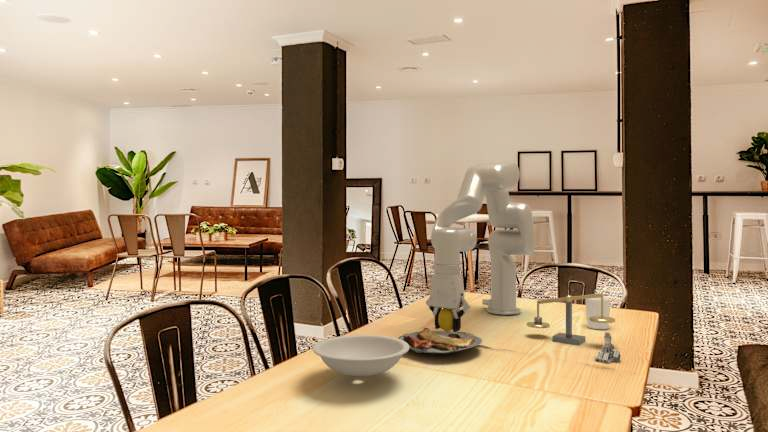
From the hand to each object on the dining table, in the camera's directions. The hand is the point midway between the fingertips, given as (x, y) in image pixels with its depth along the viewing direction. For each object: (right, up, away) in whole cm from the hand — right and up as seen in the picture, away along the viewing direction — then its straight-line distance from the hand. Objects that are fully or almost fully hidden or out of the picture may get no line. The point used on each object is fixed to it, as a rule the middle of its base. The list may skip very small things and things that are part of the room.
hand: (447, 328), depth 160 cm
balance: (+37, -4, +2) cm, 38 cm away
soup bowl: (-25, -5, -28) cm, 38 cm away
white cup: (+54, -4, +21) cm, 58 cm away
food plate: (-3, -5, -3) cm, 7 cm away
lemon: (0, -1, 0) cm, 1 cm away
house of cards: (+42, -5, -21) cm, 47 cm away
